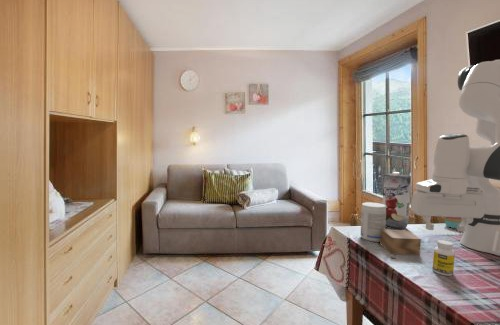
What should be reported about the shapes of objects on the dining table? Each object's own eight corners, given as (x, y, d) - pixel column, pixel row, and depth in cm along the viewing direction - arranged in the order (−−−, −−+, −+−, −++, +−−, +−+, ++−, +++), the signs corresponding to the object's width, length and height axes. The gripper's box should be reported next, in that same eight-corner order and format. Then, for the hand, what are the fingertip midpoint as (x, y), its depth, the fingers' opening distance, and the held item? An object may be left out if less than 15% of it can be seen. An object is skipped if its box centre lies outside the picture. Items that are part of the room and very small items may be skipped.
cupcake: (437, 224, 138) (439, 201, 137) (452, 224, 139) (454, 201, 138) (451, 230, 129) (453, 205, 128) (468, 229, 130) (470, 205, 129)
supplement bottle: (434, 274, 85) (437, 243, 84) (430, 267, 90) (432, 238, 89) (455, 277, 83) (458, 246, 82) (450, 270, 88) (452, 240, 87)
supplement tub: (389, 239, 115) (391, 205, 114) (376, 244, 109) (378, 208, 108) (368, 233, 123) (370, 201, 122) (355, 237, 117) (356, 203, 116)
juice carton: (386, 222, 139) (389, 170, 137) (409, 228, 131) (413, 172, 129) (379, 226, 133) (382, 171, 131) (403, 231, 125) (406, 173, 123)
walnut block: (405, 244, 109) (406, 230, 109) (419, 255, 99) (420, 239, 99) (380, 243, 110) (381, 229, 110) (391, 253, 100) (392, 238, 100)
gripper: (476, 186, 87) (472, 228, 88) (409, 183, 88) (406, 225, 89) (492, 189, 80) (488, 235, 81) (420, 186, 82) (417, 231, 83)
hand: (445, 230), depth 85 cm, fingers open, 8 cm apart
